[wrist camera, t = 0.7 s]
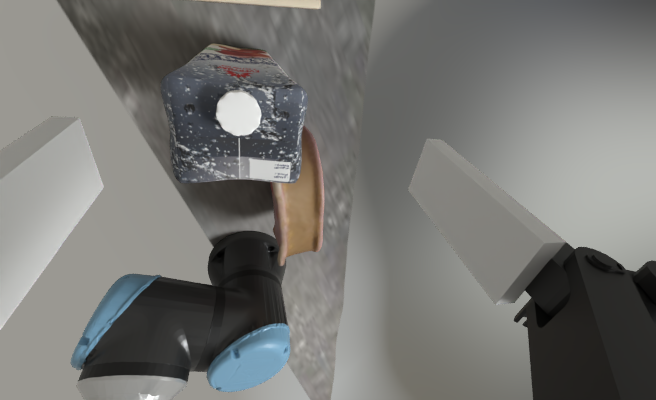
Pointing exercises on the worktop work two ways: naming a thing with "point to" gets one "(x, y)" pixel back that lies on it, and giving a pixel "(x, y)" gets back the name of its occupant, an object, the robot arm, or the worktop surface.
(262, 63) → the juice carton
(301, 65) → the worktop surface
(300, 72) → the worktop surface
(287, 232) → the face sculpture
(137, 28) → the worktop surface
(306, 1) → the square wooden tray
